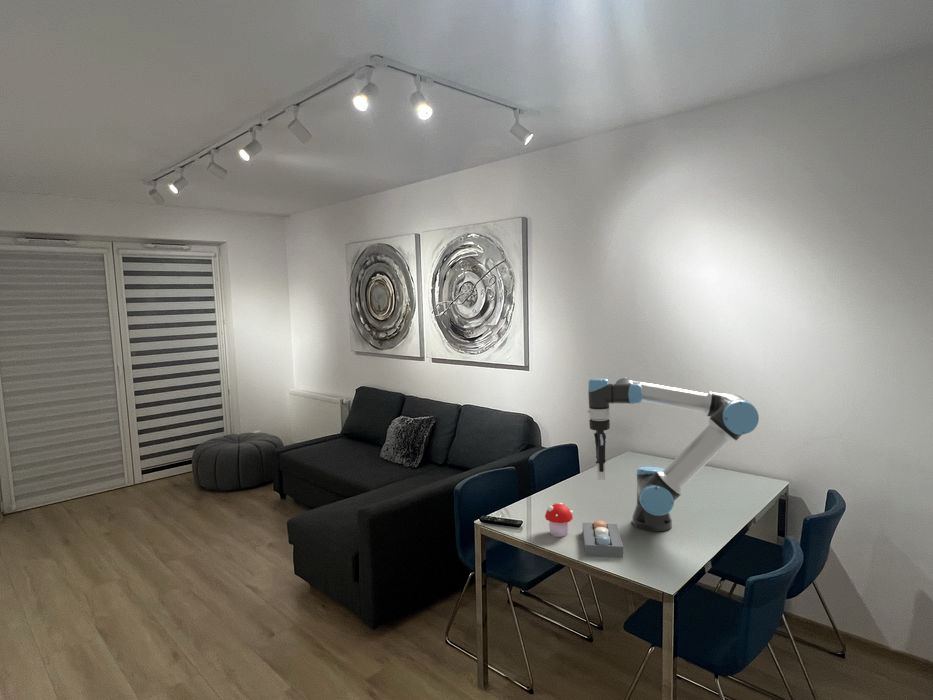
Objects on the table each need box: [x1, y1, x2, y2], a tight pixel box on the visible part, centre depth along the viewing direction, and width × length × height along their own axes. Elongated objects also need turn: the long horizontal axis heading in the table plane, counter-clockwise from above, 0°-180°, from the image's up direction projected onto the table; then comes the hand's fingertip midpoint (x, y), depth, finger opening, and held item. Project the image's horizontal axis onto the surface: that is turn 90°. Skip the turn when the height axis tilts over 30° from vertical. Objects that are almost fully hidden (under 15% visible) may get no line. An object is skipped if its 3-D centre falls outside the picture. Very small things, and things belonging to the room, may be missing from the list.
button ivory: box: [595, 527, 608, 537], centre depth 199 cm, size 5×5×4 cm
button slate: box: [596, 534, 610, 545], centre depth 193 cm, size 5×5×4 cm
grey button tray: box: [582, 522, 624, 559], centre depth 199 cm, size 13×20×4 cm, turn 171°
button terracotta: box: [593, 519, 608, 530], centre depth 206 cm, size 5×5×4 cm
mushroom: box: [544, 502, 574, 538], centre depth 209 cm, size 11×11×12 cm
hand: (601, 479), depth 207 cm, fingers closed
